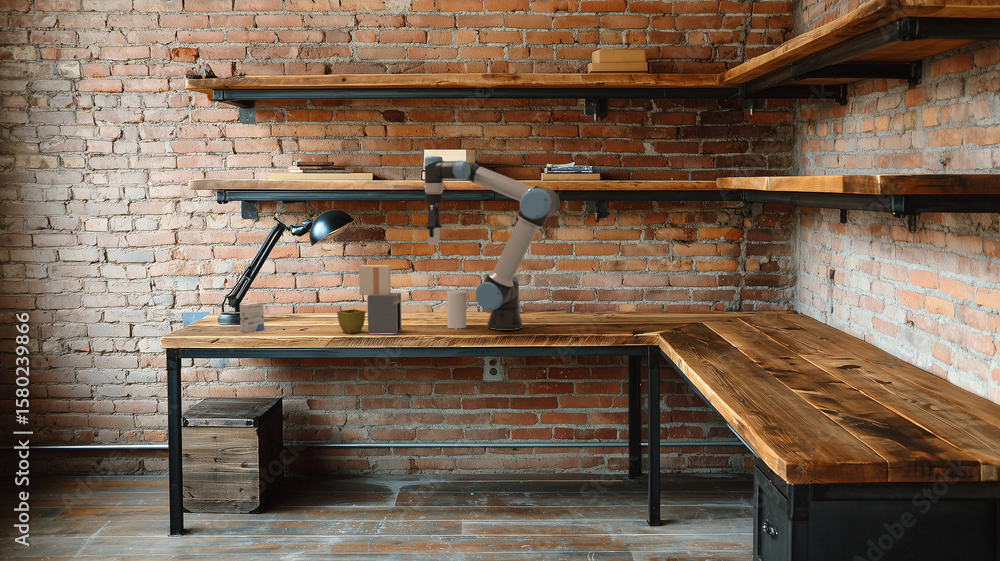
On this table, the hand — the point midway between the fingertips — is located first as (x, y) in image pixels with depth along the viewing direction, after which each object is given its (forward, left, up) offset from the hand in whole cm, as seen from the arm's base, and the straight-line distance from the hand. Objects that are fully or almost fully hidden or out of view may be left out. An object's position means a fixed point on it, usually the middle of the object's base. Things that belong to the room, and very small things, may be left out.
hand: (434, 243), depth 312 cm
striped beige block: (+24, +8, -21) cm, 33 cm away
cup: (-9, -4, -37) cm, 38 cm away
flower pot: (+34, +9, -37) cm, 51 cm away
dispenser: (+20, +8, -37) cm, 43 cm away
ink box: (+77, +8, -37) cm, 86 cm away
